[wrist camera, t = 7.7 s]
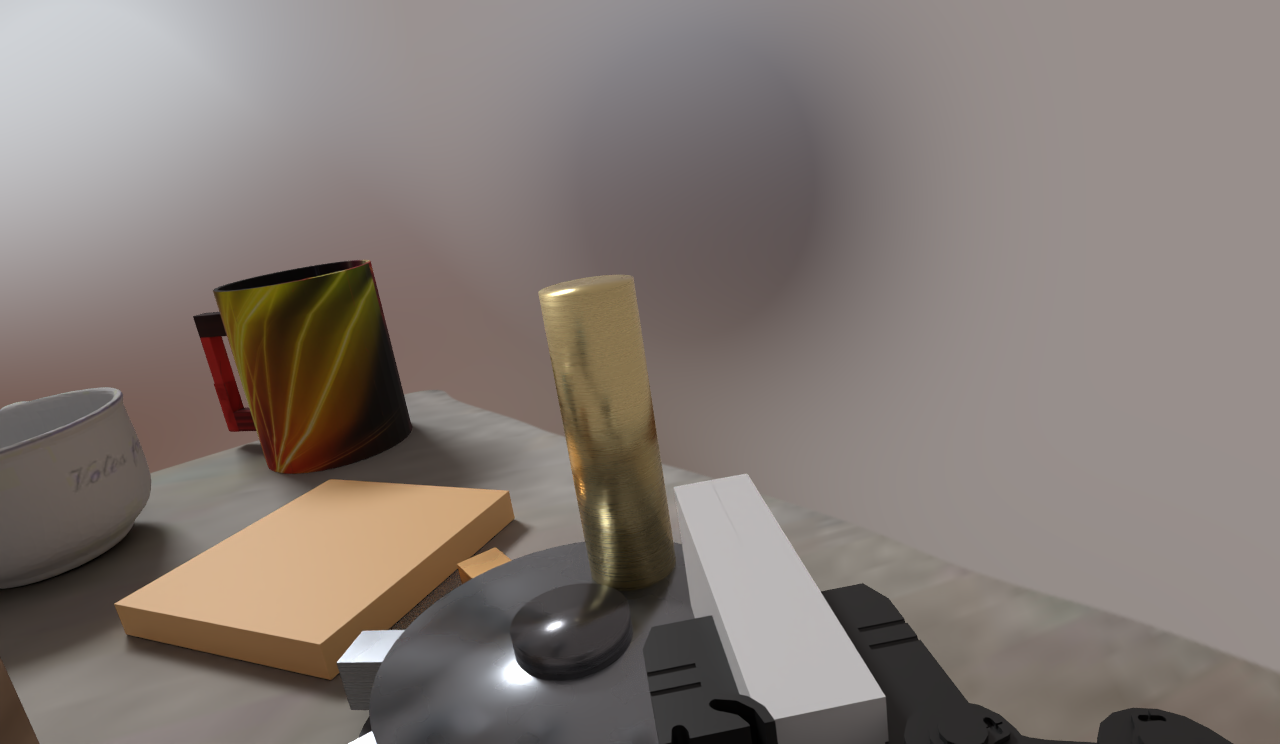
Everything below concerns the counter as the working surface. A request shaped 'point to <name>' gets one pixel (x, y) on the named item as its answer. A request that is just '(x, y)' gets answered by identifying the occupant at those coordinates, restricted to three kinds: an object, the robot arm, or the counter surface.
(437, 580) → the light orange square slab
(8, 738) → the link block
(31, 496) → the teacup
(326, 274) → the mug
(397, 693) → the sprocket
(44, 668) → the counter surface
